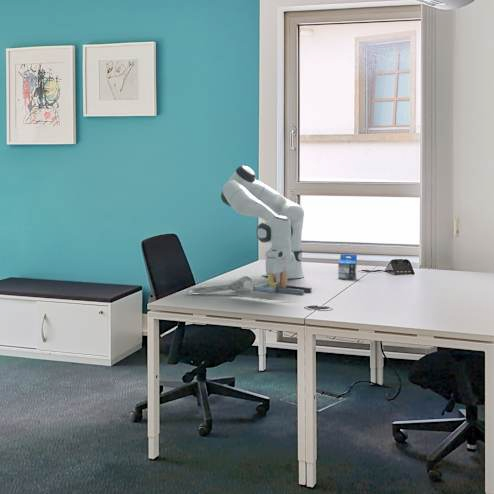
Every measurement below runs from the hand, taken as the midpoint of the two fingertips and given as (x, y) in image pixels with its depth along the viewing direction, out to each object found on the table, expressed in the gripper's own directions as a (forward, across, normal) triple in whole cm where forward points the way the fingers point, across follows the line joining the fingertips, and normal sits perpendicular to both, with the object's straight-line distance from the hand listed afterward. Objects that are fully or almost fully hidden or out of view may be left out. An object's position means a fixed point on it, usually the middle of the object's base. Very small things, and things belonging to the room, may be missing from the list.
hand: (281, 281), depth 326 cm
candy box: (+6, -16, -12) cm, 21 cm away
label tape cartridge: (+6, -56, +5) cm, 56 cm away
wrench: (+6, +17, -22) cm, 29 cm away
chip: (+5, 0, -3) cm, 6 cm away
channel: (+6, 0, +7) cm, 9 cm away
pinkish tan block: (+3, 0, 0) cm, 3 cm away
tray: (+6, 0, -6) cm, 8 cm away
